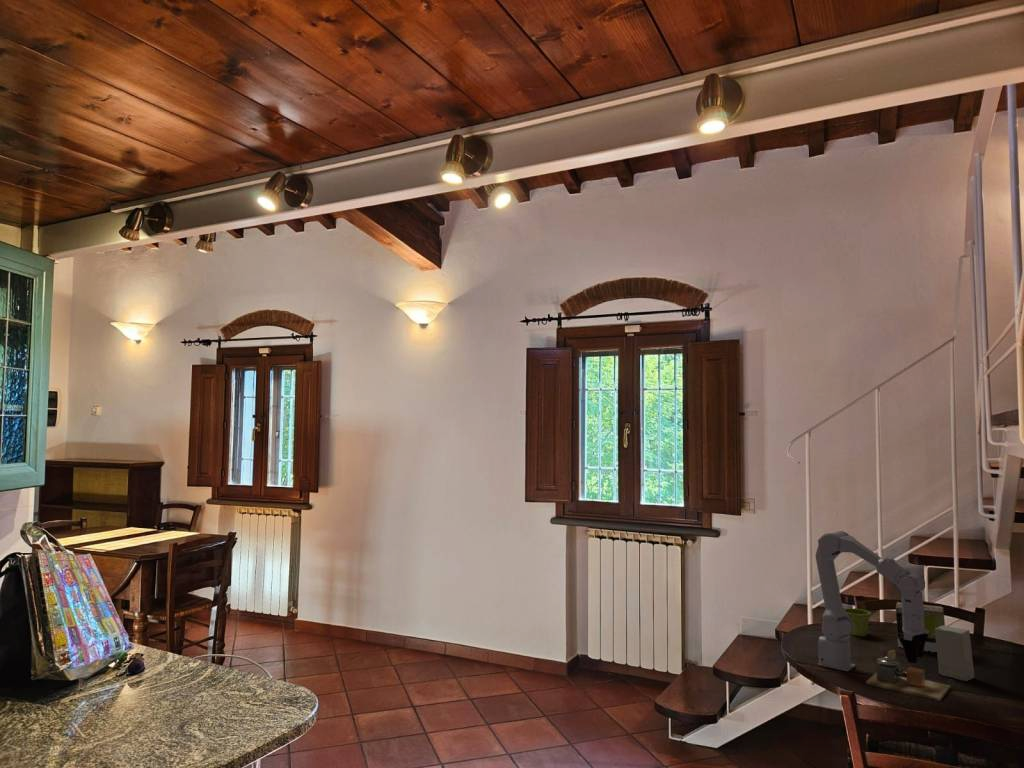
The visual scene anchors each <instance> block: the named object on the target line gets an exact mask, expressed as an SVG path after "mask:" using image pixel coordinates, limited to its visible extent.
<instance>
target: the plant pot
mask: <svg viewBox="0 0 1024 768" xmlns="http://www.w3.org/2000/svg"><path fill="white" fill-rule="evenodd" d="M843 609H844V610H845V611H846V612H847V613H848V617H849V619H850V621H851V622H852V624H853V632H852V633H851V634H850V635H853V636H857V637H866V636H867V635H868V628H869V619H870V616H871V615H872V613H871V611H869V610H865V609H862V608H861V609H860V608H843Z"/></svg>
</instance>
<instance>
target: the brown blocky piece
mask: <svg viewBox="0 0 1024 768" xmlns="http://www.w3.org/2000/svg"><path fill="white" fill-rule="evenodd" d="M896 676H901V677H905V678H907V684H911V685H916V686H920V687H923V686H924V684H925V680H926V670H925V669H923V668H917V667H913V666H909V667H908V668H907V669H906V670H903V669H901V670H897V669H896Z"/></svg>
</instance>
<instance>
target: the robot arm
mask: <svg viewBox="0 0 1024 768" xmlns="http://www.w3.org/2000/svg"><path fill="white" fill-rule="evenodd" d="M817 545H818V546H817V549H816V552H815V561H816V567H817V572H818V577H819V582H820V588H821V593H822V598H823V603H824V608H825V610H824V612H823V614H822V616H821V618H822V624H821V631H822V634H823V635H821V636H819V638H818V642H817V652H818V656H817V657H818V663H817V665H818V666H820V667H825V668H829V669H830V668H831V669H834V670H835V669H836V670H839V671H843V672H850V671H851V670H852V669H853V668H855V667H856V664H855V663H852V657H851V655H852V654H851V636H850V635H852V634H851V633H852V632H853V624H852V622H851V621H850V619H849V617H848V613H847V612H846V611H845V610H844V609H845V608H844V607H843V602H842V597H841V592H840V591H841V590H840V587H839V586H840V585H839V581H838V577H837V571H836V566H835V559H836V558H838V556H839V555H840V554H842V553H850V554H851V553H852V554H854V555H855V556H857V557H859V558H860V559H862V560H864V561H865V562H867V563H869V564H871V565H872V566H874V567H875V569H876V572H877V573H878V574H880V575H881V576H882V577H884V578H885V579H887V580H888V581H890V582H892V583H893V584H894V585H896V587H897V589H898V590H899V591H900V593H901V595H900V596H901V597H900V598H901V603H902V621H903V627H902V630H903V632H904V637H902V636H900V637H899V641H900V642H901V644H902V646H903V648H902V649H903V650H904V653H905V657H906V660H907V662H908V663H910V664H917V661H918V658H923V656H924V652H925V651H924V646H925V642H926V640H927V637H928V636H929V634H928V633H929V630H925V629H924V611H923V605H924V600H923V598H924V597H923V591H924V589H925V587H926V581H925V579H924V577H923V576H921V574H920V573H918V572H914V571H911V570H910V569H908V568H905V567H903V565H902V566H901V565H900V564H898V563H897V562H896V559H894V558H893V557H892V558H889V557H882V556H879V554H877V553H875V552H874V551H872V550H871V549H870V548H868V546H865V545H864V544H863V543H861V542H860V541H859V540H857V539H856V538H855V536H853V535H850V534H849V533H848V532H846V531H843V530H841V531H837V532H830V533H828V532H827V533H824V534H823V535H821V537H819V539H817Z"/></svg>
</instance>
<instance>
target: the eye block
mask: <svg viewBox="0 0 1024 768" xmlns="http://www.w3.org/2000/svg"><path fill="white" fill-rule="evenodd" d="M875 669H876V670H875V671H876V672H875V673H877V680H879V681H884V682H888V683H892V684H895V683H896V682H897V681H898V680H900V679H901V676H896V669H897V670H902V669H901V662H899V666H885V665H882V664H879V663H878V662H877V664H875Z"/></svg>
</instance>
